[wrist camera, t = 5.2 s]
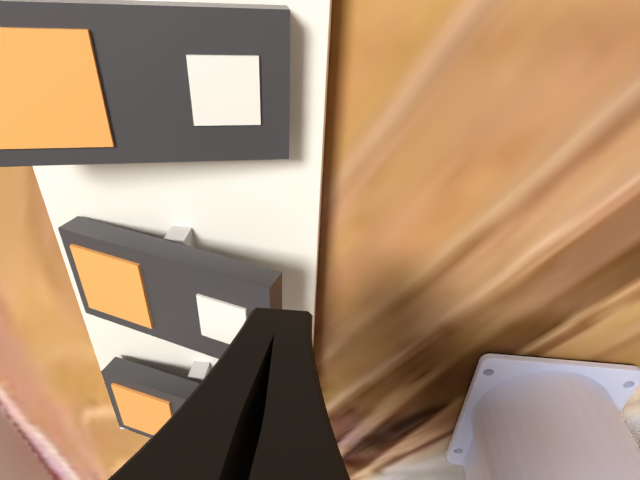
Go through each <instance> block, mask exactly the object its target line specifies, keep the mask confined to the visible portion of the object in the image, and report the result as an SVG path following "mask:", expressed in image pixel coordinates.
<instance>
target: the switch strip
mask: <svg viewBox="0 0 640 480" xmlns="http://www.w3.org/2000/svg"><path fill="white" fill-rule="evenodd" d="M138 1H169V2H201V3H232V4H264V5H287V7H288V8H289V9H290V110H289V159H273V160H236V161H199V162H161V163H124V164H87V165H49V166H33V169H34V172H35V175H36V178H37V181H38V184H39V187H40V190H41V193H42V196H43V199H44V202H45V205H46V208H47V211H48V214H49V217H50V220H51V223H52V226H53V229H54V232H55V235H56V238H57V241H58V244H59V247H60V250H61V253H62V256H63V259H64V262H65V265H66V268H67V271H68V274H69V276H70V279H71V282H72V285H73V288H74V291H75V294H76V297H77V300H78V303H79V306H80V309H81V312H82V315H83V318H84V321H85V324H86V327H87V330H88V333H89V336H90V339H91V342H92V345H93V348H94V351H95V354H96V357H97V360H98V363H99V366H100V369H101V371H102V370H103V369H104V368H105V367H106V366H107V365H108V364H109V363H110V362H111V361H112V359H113V358H114V357H115V356H116V357H119V358H122V359H125V360H128V361H131V362H134V363H138V364H141V365H144V366H147V367H150V368H153V369H156V370H159V371H163V372H166V373H169V374H172V375H175V376H178V377H181V378H185V379H188V380H191V381H194V382H197V383H201V382H202V381H203V379H204V378H205V377H206V376H207V374H208V373H209V372H210V370H211V369H212V368H213V366H214V365H215V364H216V362H217V361H218V360H219V359H217V358H214V357H211V356H208V355H206V354H203V353H200V352H197V351H194V350H191V349H188V348H185V347H183V346H180V345H177V344H174V343H171V342H168V341H165V340H162V339H160V338H157V337H154V336H151V335H148V334H145V333H142V332H139V331H137V330H134V329H131V328H128V327H125V326H122V325H119V324H116V323H114V322H111V321H108V320H105V319H102V318H99V317H96V316H93V315H91V314H88V313H86V312H85V309H84V306H83V303H82V300H81V297H80V294H79V291H78V288H77V285H76V282H75V279H74V276H73V272H72V269H71V266H70V263H69V260H68V257H67V254H66V251H65V248H64V245H63V242H62V239H61V236H60V233H59V230H58V227H60V226H62V225H63V224H65V223H67V222H69V221H70V220H72V219H74V218H75V217H77V216H81V217H84V218H88V219H91V220H95V221H99V222H102V223H106V224H110V225H113V226H117V227H121V228H124V229H128V230H132V231H135V232H139V233H142V234H146V235H150V236H153V237H157V238H161V239H164V240H168V241H172V242H175V243H179V244H183V245H186V246H190V247H193V248H197V249H201V250H204V251H208V252H212V253H215V254H219V255H223V256H226V257H230V258H233V259H237V260H241V261H244V262H248V263H252V264H255V265H259V266H263V267H266V268H270V269H274V270H277V271H281V272H282V309H284V310H299V311H308V312H309V313H310V314H312V315H313V317H312V343H313V345H314V326H315V307H316V289H317V270H318V252H319V233H320V215H321V196H322V178H323V159H324V141H325V122H326V104H327V85H328V67H329V48H330V30H331V11H332V0H138ZM120 429H125V428H122V427H120Z"/></svg>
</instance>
